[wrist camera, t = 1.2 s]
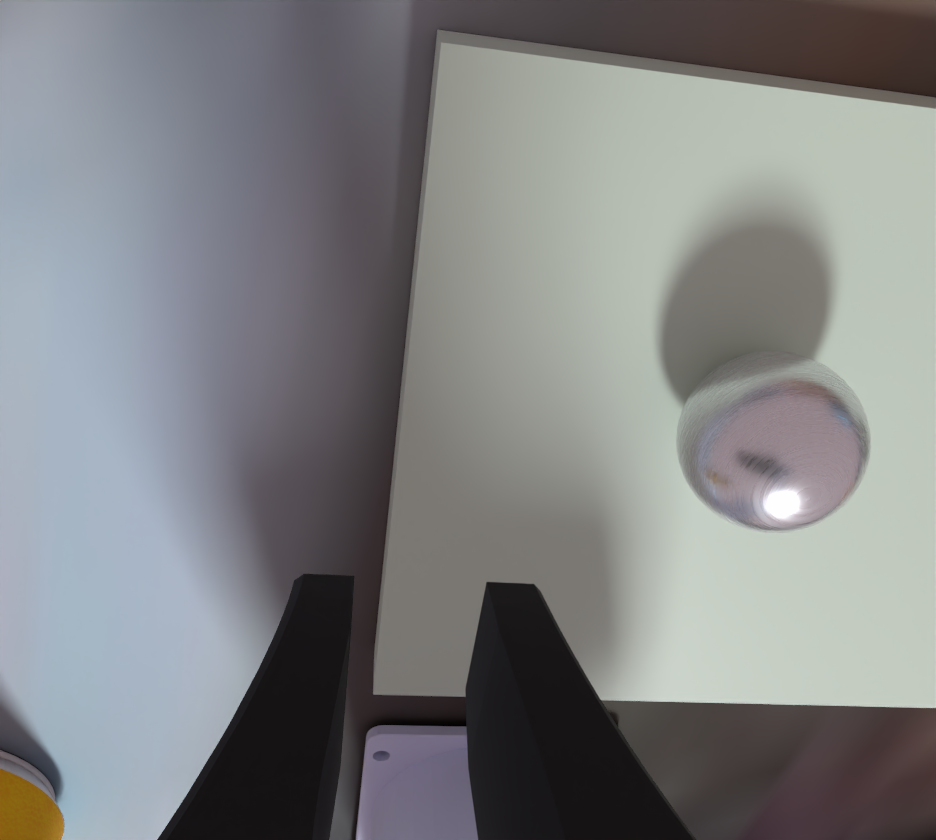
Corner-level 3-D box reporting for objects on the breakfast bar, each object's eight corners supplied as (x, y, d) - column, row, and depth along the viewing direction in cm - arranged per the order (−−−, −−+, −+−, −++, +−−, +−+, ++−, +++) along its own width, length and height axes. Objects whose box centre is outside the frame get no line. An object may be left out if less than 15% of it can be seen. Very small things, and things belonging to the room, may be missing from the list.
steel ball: (786, 466, 18) (861, 575, 15) (638, 456, 18) (685, 567, 15) (846, 327, 16) (944, 422, 13) (681, 312, 16) (745, 406, 13)
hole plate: (1121, 673, 26) (1158, 713, 25) (374, 650, 23) (373, 694, 21) (1543, 180, 17) (1632, 202, 16) (437, 29, 14) (441, 42, 13)
